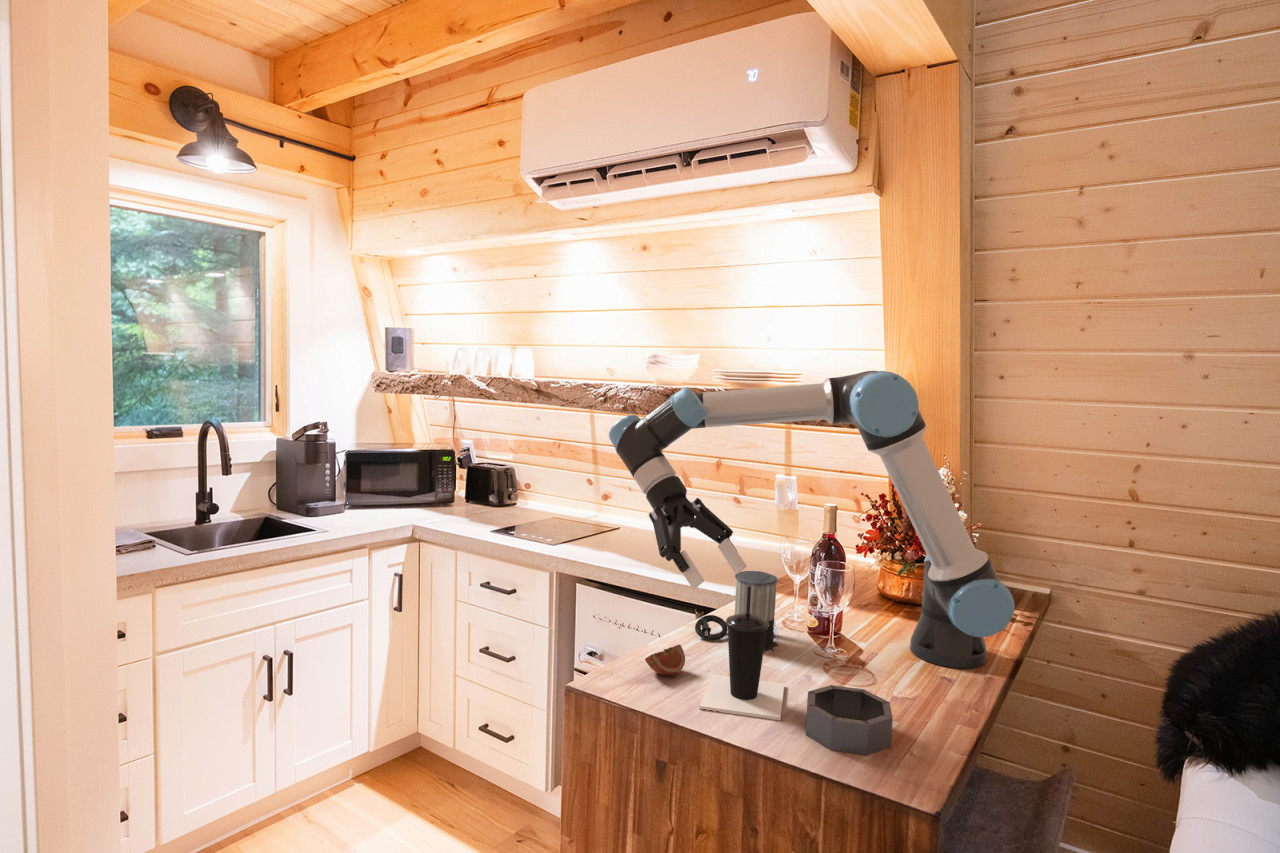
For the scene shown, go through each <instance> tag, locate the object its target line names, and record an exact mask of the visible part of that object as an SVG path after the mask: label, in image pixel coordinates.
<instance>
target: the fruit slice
mask: <svg viewBox="0 0 1280 853" xmlns="http://www.w3.org/2000/svg"><path fill="white" fill-rule="evenodd" d="M644 660H645V663H646V664H647V665H648V666H649V667H650V669H651V670H652V671H653V672H655V673H656V674H659V675H662V676H674V675H676V674H678V673H679V672H681V671H682V669H684V666H685V663H686V655H685V652H684V649H683V647H682V645H681V644H676V645H673V646H670V647H668V648H663V650H662V651H659V652H654V653H652V654H649V655H648V656H646V657H645V659H644Z"/></svg>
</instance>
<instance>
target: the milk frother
mask: <svg viewBox="0 0 1280 853" xmlns="http://www.w3.org/2000/svg"><path fill="white" fill-rule="evenodd" d="M734 577H735V580H736V581H735V597H734V598H735V600H734V601H735V602H734V615H736V614H740V613H746V604H747V587H751V600H750V613H751V614H755V615H757V616H760V617H762V618H764V619H766V620H767V621H768V622H769V627H768V628H767V632H766V639H765V646H764V651H767V650H770V649H773V648H774V646H775V641H774V639H775V630H774V629H775V616H776V615H775V613H776V601H777V600H776V596H777V584H778V581H779V578H778V577H777V576H776V575H774V574H772V573H769V572H764V571H759V570H745V571H743V570H742V571H741V572H740V573H738V574H735V575H734ZM710 622H711V623H716V624H718V625H719V626H720V627H721V629H722V630H721V631H720V632H717V633H714V634H711V631H712V628H711V627H710V625H709V623H710ZM694 630H695V633H696V634H697V636H699V637H701V638H702V639H706V640H709V641H717V640H721V639H723V638H724V637H725V636H726V635H728V625H727V624H726V620H724V619H723V618H722V617H720V616H717V615H714V614H708V615H707V614H706V615H704V616H702V617H700V618H699V619H698V620H697V621H696V623H695V625H694ZM773 641H774V642H773Z"/></svg>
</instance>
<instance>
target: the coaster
mask: <svg viewBox="0 0 1280 853" xmlns="http://www.w3.org/2000/svg"><path fill="white" fill-rule="evenodd" d="M784 692H785V683H783V682H776V681H770V680H769V681H767V680H760V679H759V686H758V693H757V697H756V698H754V699H751V700H742V699H738V698H735V697H733V696H732V695H731V692H730V675H721V674H715V673H714V674H713V673H710V674H709V678H708V681H707V684H706V687H705V689H704V691H703V694H702V698H701V700H700V704H699V710H702V709H706V710H705V711H709V710H713V711H712V712H716V711H719V712H718V713H725V714H733V715H736V716H737V715H738V716H746V717H752V718H761V719H766V720H774V721H781V719H782V710H783V701H784Z"/></svg>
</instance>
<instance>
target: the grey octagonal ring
mask: <svg viewBox="0 0 1280 853" xmlns="http://www.w3.org/2000/svg"><path fill="white" fill-rule="evenodd" d="M805 717H806V718H805V736H807V737H809V738H810V739H811V740H813V741H815V742H817V743H818V744H820V745H821V746H823V747H824V748H826V749H828V750H830V751H833V752H839V753H847V754H848V753H849V754H855V755H860V756H869V755H872V754H875V753H878V752H881V751H883V750H886V749H889V748H891V747H892V746H891V745H892V733H893V721H894V720H893V719H894V717H893V713H892V707H891V703H890V701H888V700H886V699H884V698H882V697H881V696H878V695H877V694H874V693H872V692H870V691H868V690H866V689H865V688H855V687H849V686H841V685H840V686H839V685H832V684H830V685H827V686H823V687H819V688H815V689H813V690H809V691H807V700H806V716H805Z"/></svg>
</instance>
